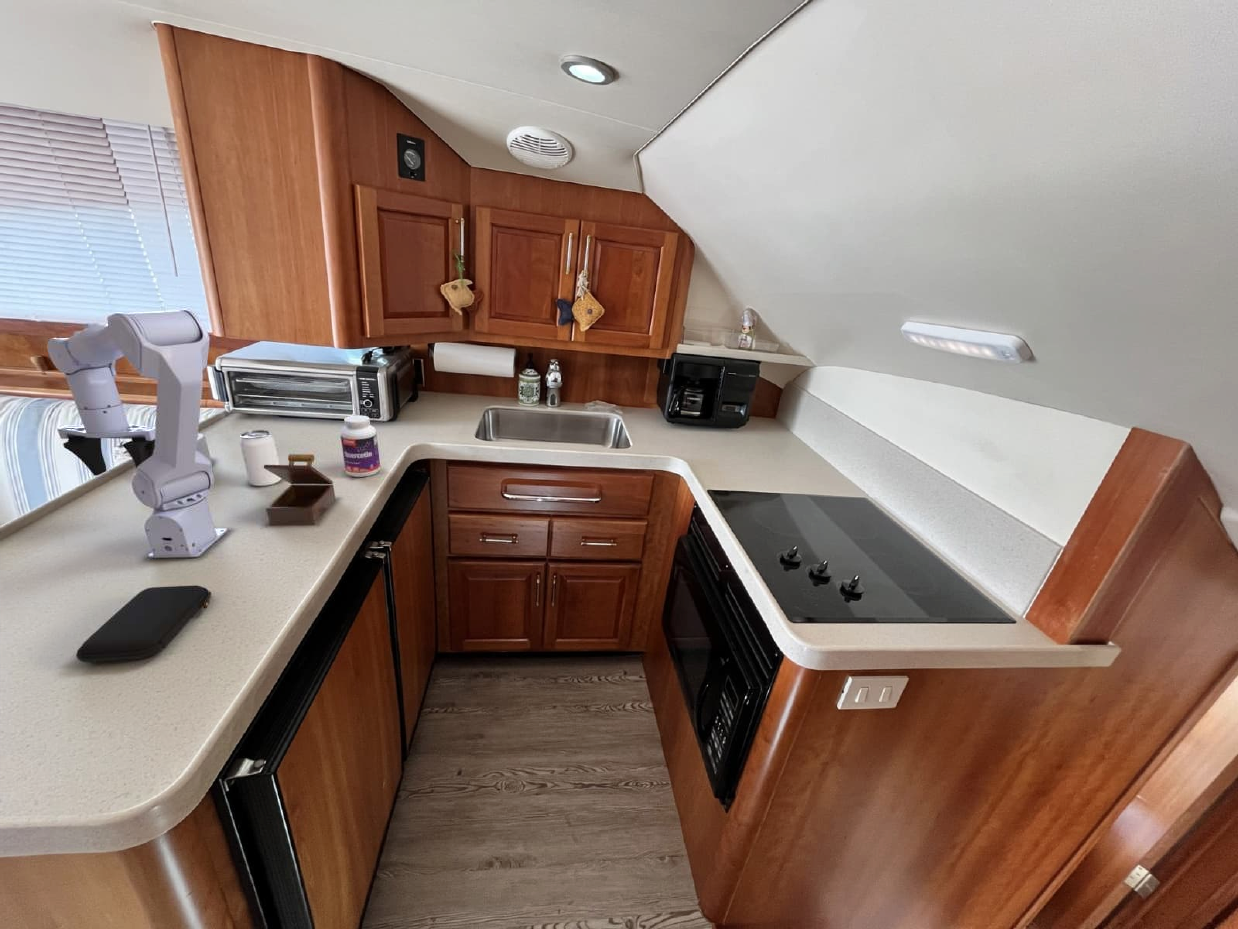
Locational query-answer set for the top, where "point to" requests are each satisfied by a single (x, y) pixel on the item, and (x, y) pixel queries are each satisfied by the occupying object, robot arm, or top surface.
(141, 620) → the carrying case
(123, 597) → the top surface
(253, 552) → the top surface
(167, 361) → the robot arm
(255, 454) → the can
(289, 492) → the keepsake box
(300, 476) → the lid
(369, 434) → the pill bottle
